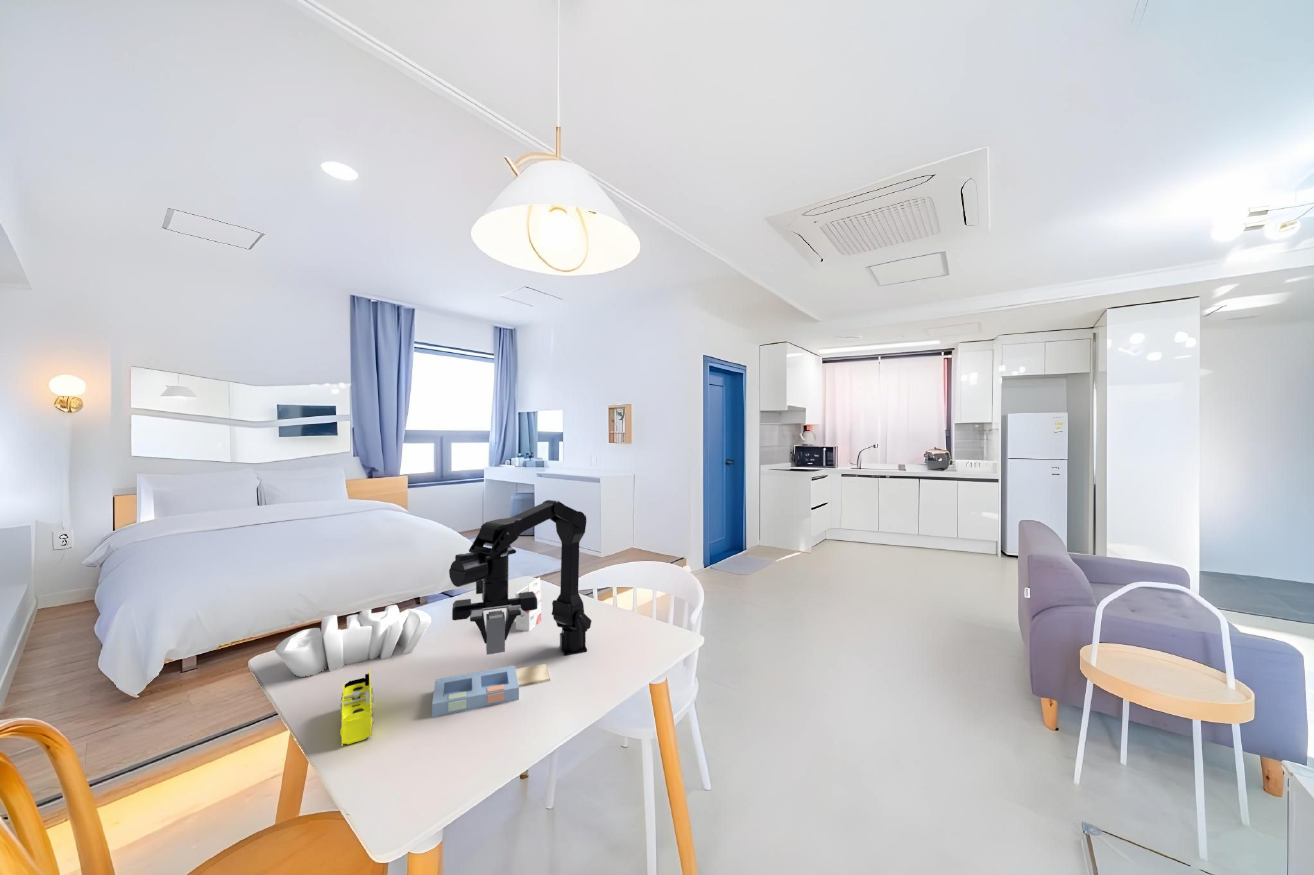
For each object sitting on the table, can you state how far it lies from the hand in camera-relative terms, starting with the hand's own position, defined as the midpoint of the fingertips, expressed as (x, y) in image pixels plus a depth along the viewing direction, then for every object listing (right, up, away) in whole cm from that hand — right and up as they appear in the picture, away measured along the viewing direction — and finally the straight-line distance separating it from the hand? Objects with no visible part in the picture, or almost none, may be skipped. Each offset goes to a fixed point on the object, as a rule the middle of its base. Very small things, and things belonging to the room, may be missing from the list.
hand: (495, 641), depth 109 cm
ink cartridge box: (-3, -12, +39) cm, 41 cm away
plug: (0, -2, 0) cm, 2 cm away
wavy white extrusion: (-44, -12, +18) cm, 49 cm away
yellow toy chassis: (-25, -13, -12) cm, 30 cm away
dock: (-4, -12, -2) cm, 13 cm away
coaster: (+7, -12, +7) cm, 16 cm away
